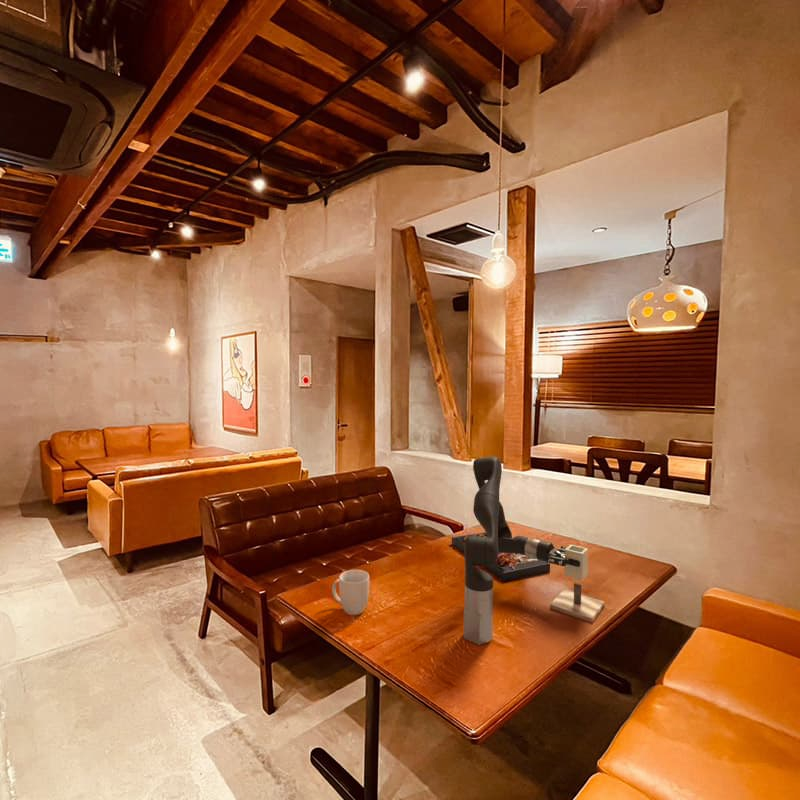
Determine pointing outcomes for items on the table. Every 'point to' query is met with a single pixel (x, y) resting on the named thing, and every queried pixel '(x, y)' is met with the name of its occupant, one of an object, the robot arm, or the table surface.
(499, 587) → the table surface
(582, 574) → the cream square bin
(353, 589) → the mug
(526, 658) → the table surface
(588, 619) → the post base
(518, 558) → the food platter
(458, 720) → the table surface
